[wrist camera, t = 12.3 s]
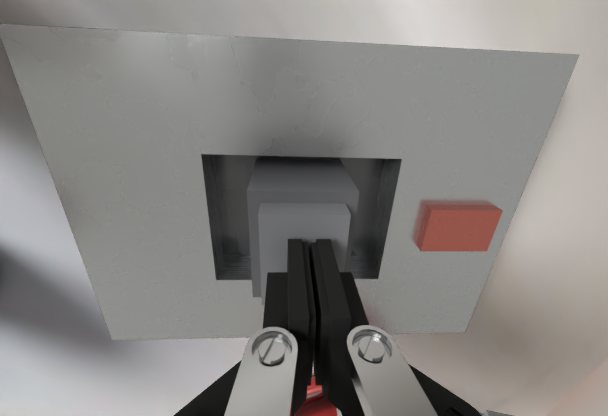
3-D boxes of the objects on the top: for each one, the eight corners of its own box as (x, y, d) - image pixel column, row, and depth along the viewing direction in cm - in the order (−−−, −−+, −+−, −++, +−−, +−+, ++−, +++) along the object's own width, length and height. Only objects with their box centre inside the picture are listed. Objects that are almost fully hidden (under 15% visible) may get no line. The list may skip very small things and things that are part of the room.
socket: (48, 31, 12) (-22, 20, 9) (531, 56, 14) (594, 54, 11) (132, 308, 19) (106, 349, 16) (445, 303, 21) (470, 340, 18)
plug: (256, 157, 15) (243, 201, 10) (340, 159, 15) (365, 203, 10) (259, 245, 17) (250, 314, 12) (331, 244, 18) (350, 312, 13)
